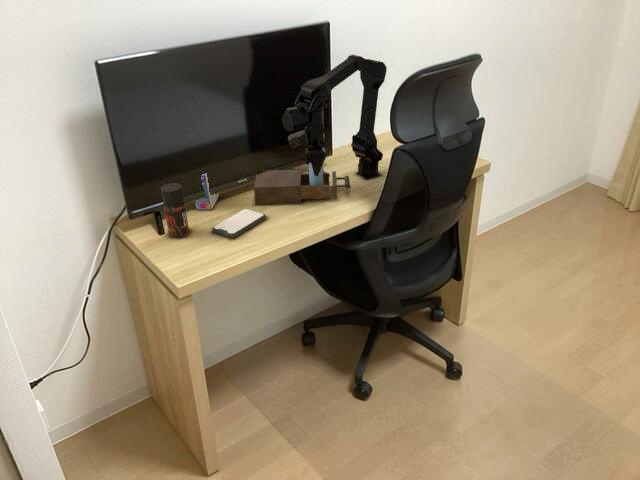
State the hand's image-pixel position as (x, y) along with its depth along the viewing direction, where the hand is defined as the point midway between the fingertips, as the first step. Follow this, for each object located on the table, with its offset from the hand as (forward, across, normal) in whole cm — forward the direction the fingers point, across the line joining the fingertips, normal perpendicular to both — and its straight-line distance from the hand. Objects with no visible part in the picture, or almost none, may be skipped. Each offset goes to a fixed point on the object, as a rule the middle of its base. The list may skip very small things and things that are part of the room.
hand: (316, 170), depth 188 cm
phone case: (+9, +20, -24) cm, 32 cm away
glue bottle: (+7, 0, 0) cm, 7 cm away
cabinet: (+9, 0, -13) cm, 15 cm away
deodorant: (+9, +24, -41) cm, 49 cm away
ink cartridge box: (+9, +4, -36) cm, 37 cm away
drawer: (+8, 0, +2) cm, 8 cm away
